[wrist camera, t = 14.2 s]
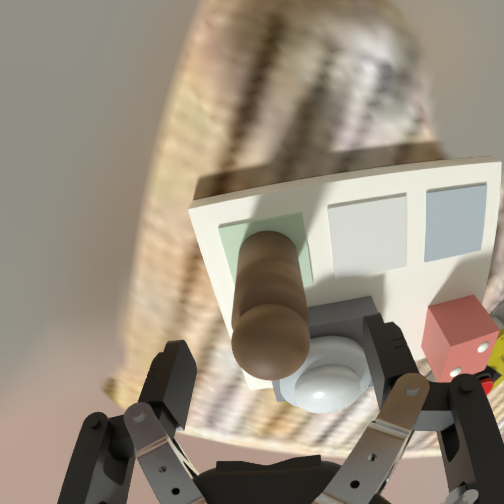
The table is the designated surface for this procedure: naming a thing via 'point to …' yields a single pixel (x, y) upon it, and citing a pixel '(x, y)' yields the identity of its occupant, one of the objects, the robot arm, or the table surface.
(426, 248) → the board
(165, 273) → the table surface
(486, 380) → the emergency button
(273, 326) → the pawn
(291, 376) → the dome
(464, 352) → the die
